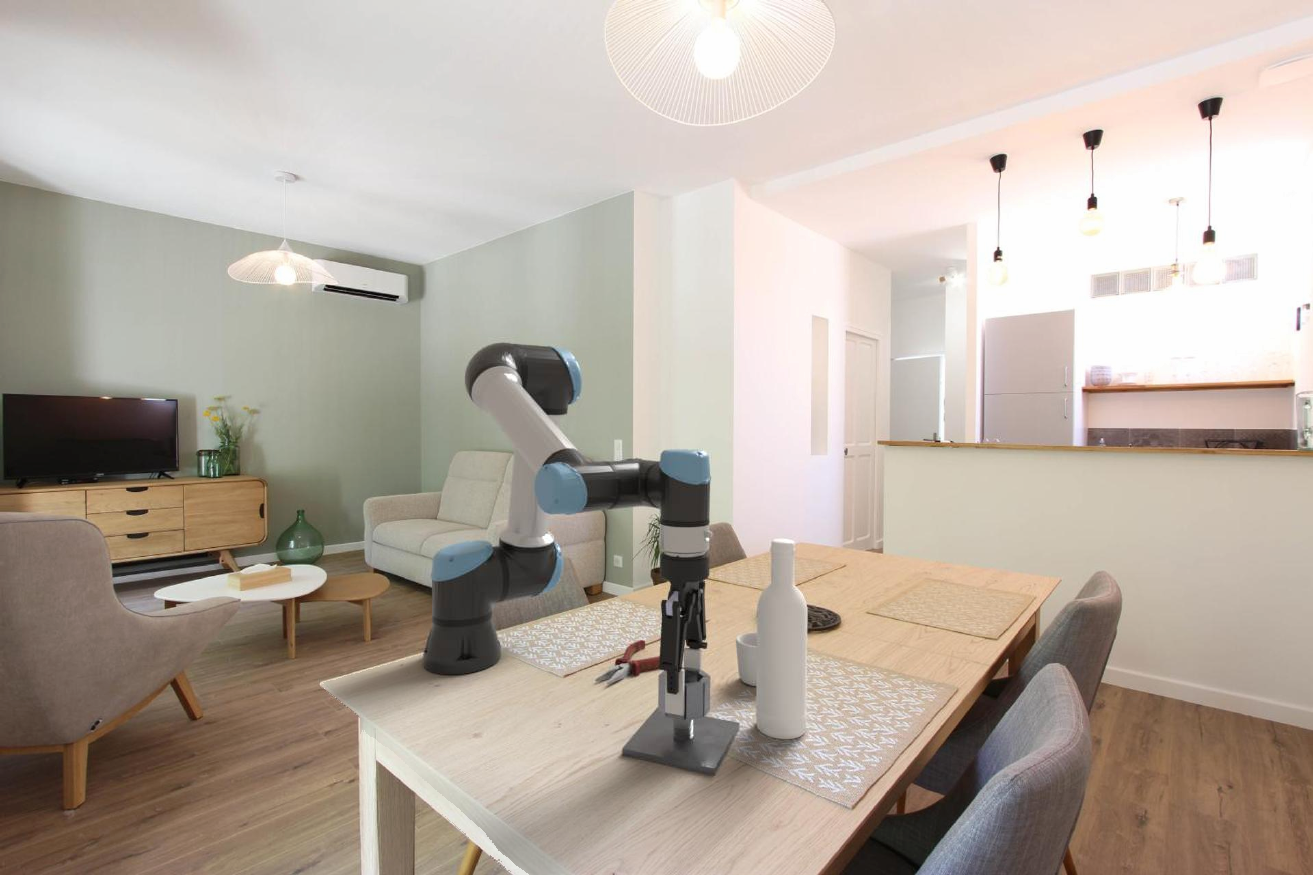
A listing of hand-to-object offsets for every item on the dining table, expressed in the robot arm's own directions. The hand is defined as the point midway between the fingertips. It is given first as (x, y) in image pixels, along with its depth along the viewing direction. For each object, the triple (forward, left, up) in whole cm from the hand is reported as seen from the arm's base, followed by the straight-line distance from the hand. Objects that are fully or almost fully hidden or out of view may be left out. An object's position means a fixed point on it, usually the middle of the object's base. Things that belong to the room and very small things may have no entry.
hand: (684, 700), depth 94 cm
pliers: (-20, +24, -7) cm, 32 cm away
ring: (0, 0, -1) cm, 1 cm away
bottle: (+13, +10, -6) cm, 18 cm away
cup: (+7, +26, -7) cm, 28 cm away
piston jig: (0, 0, -6) cm, 6 cm away
